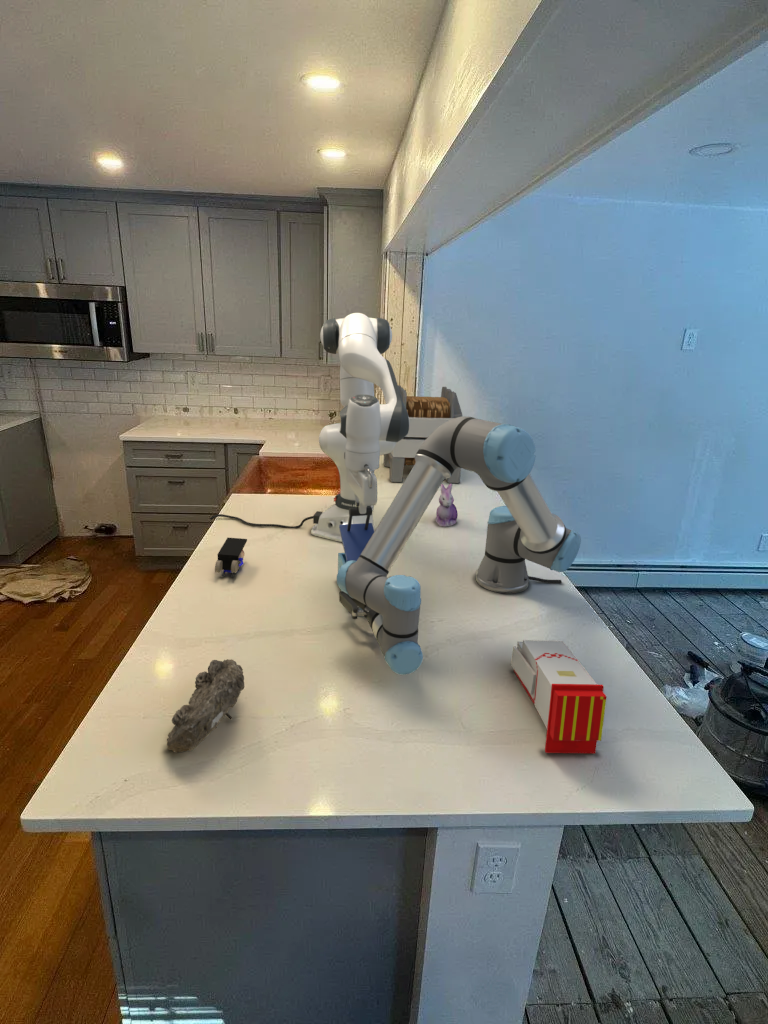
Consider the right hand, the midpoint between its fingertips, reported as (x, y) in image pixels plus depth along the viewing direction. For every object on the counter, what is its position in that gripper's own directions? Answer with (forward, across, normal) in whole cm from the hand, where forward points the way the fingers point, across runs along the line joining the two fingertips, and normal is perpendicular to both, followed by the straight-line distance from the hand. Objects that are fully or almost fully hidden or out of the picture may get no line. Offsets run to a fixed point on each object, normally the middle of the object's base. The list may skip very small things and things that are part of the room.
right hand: (364, 580), depth 150 cm
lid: (+5, 0, +6) cm, 8 cm away
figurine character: (+27, -34, -7) cm, 44 cm away
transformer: (+120, +56, -7) cm, 132 cm away
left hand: (+7, 0, +17) cm, 18 cm away
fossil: (-38, -39, -7) cm, 54 cm away
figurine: (+54, +44, -7) cm, 70 cm away
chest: (+5, 0, -7) cm, 8 cm away
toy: (-48, +27, -7) cm, 56 cm away
